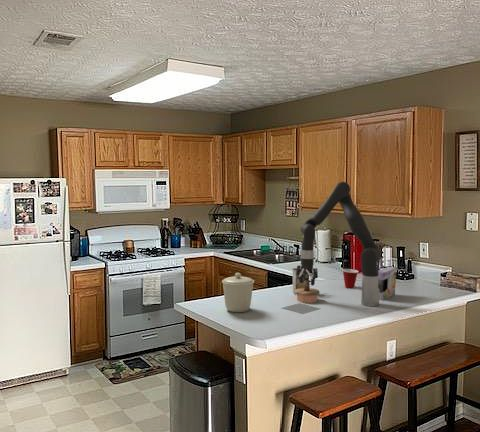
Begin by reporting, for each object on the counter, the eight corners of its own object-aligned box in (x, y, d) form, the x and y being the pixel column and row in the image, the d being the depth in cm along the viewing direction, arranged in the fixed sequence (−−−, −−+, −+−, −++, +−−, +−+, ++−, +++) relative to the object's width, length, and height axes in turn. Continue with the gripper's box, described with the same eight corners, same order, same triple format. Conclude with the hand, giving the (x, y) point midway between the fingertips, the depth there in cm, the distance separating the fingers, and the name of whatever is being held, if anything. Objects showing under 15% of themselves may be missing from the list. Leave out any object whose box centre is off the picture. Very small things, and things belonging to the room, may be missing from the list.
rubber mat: (321, 309, 278) (321, 308, 278) (302, 314, 267) (302, 313, 267) (299, 303, 290) (299, 303, 290) (280, 308, 279) (280, 308, 279)
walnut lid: (324, 292, 297) (324, 281, 296) (308, 296, 287) (308, 284, 286) (305, 288, 308) (305, 277, 307) (289, 292, 297) (289, 280, 297)
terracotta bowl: (320, 300, 297) (320, 292, 297) (307, 304, 290) (308, 295, 289) (305, 297, 306) (305, 289, 305) (293, 300, 298) (293, 292, 297)
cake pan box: (381, 300, 298) (382, 271, 297) (373, 299, 302) (374, 270, 300) (396, 295, 312) (396, 267, 311) (388, 294, 316) (389, 266, 314)
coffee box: (305, 292, 319) (306, 267, 318) (309, 294, 313) (309, 269, 312) (292, 292, 317) (292, 268, 316) (295, 295, 311) (295, 269, 310)
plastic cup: (358, 289, 327) (359, 271, 326) (341, 289, 329) (342, 271, 328) (358, 286, 337) (358, 268, 336) (341, 285, 339) (342, 268, 338)
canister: (234, 316, 263) (234, 277, 262) (215, 309, 278) (215, 272, 276) (260, 311, 274) (261, 273, 272) (241, 304, 288) (241, 268, 287)
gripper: (320, 258, 293) (320, 285, 294) (302, 255, 303) (301, 281, 304) (312, 259, 288) (312, 287, 289) (294, 256, 298) (293, 283, 299)
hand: (306, 284), depth 297 cm, fingers open, 8 cm apart
